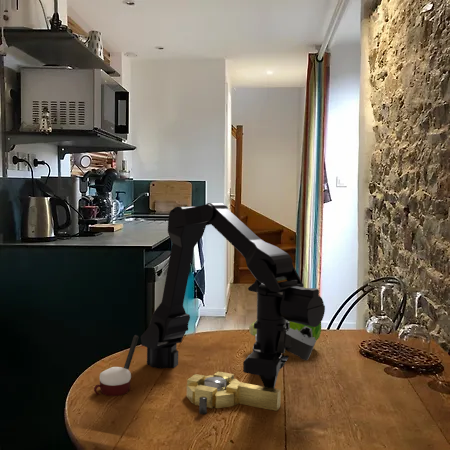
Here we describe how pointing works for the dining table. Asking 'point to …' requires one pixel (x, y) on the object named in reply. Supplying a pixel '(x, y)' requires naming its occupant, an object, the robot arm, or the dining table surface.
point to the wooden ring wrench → (232, 393)
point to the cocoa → (117, 376)
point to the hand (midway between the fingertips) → (270, 393)
